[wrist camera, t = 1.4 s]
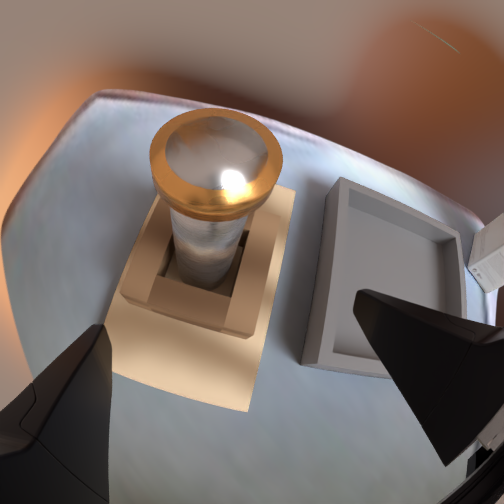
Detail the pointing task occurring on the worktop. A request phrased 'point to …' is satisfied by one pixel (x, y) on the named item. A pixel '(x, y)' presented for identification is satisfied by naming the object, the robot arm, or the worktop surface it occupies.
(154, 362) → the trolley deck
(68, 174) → the worktop surface
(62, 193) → the worktop surface
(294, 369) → the worktop surface
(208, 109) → the pin
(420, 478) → the worktop surface
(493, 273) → the skincare box
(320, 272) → the tray
